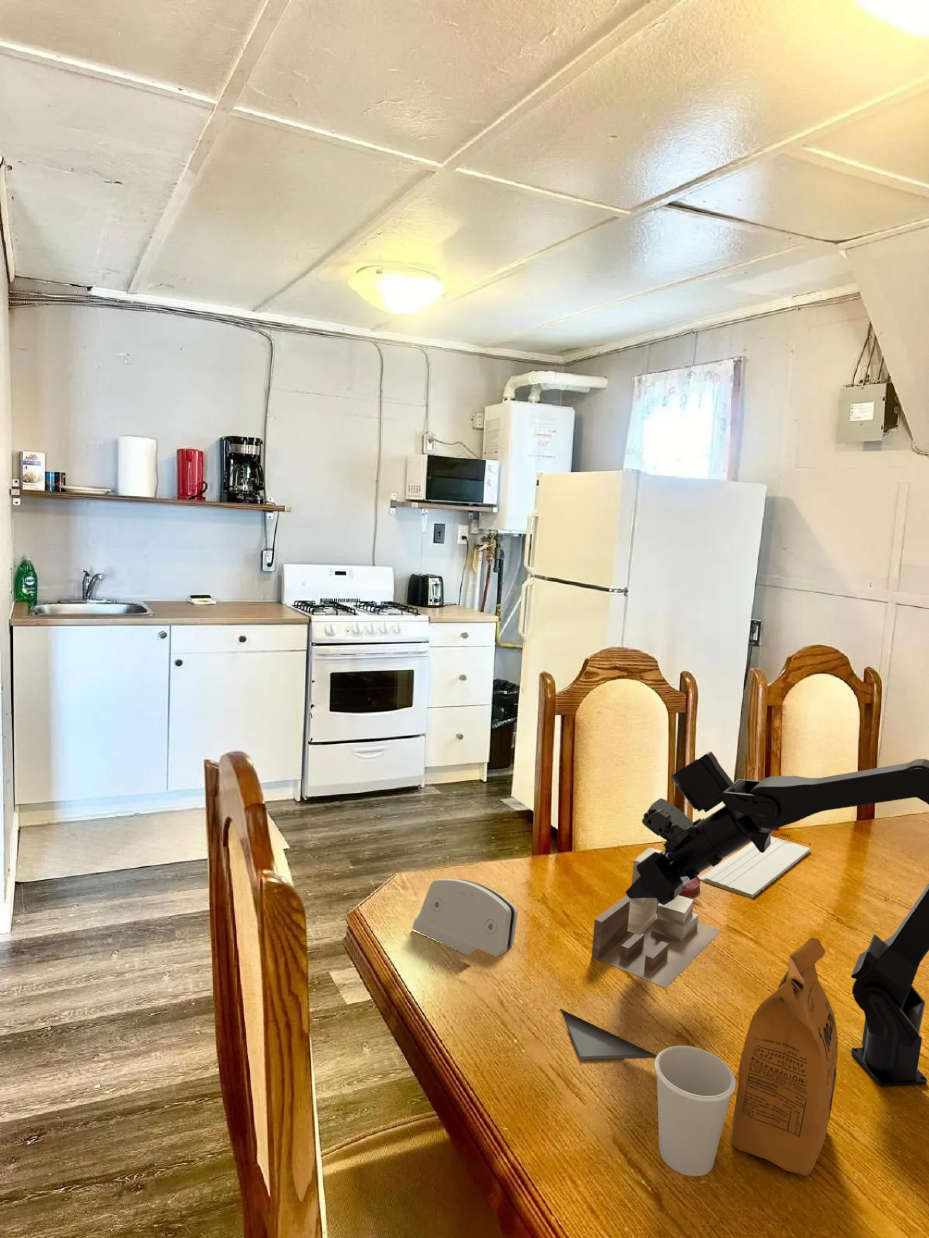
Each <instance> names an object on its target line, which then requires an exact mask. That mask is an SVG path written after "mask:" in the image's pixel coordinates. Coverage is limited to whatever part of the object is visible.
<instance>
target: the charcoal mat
mask: <svg viewBox="0 0 929 1238" xmlns="http://www.w3.org/2000/svg"><path fill="white" fill-rule="evenodd" d="M560 1012H561V1014H562V1017H563V1019H564V1022H565V1025H566V1028H567V1029H568V1033H569V1034H570V1037H571V1040H572V1043H573V1045H574V1047H575V1050H576V1053H577V1055H578V1057H579V1059H580V1061H586V1060H587V1061H588V1060H589V1061H591V1060H594V1061H595V1060H619V1059H620V1060H622V1059H646V1058H651V1059H652V1058H653V1059H654V1058H656V1057H657V1055H658V1054H655V1053H652V1052H650V1051H649V1050H647V1049H645V1048H642V1047H641V1046H638V1045H636V1044H634V1043H632V1042H630V1041H627V1040H625V1039H623V1038H622V1037H619V1036H617V1035H615V1034H613V1033H611V1032H609V1031H607V1030H605V1029H604V1028H601V1027H599V1026H597V1025H595V1024H593V1023H591V1022H590V1021H589V1022H588V1021H587V1020H584V1019H583V1018H581V1017H578V1016H576V1015H574V1014H572V1013H570V1012H568V1011H566V1010H564V1009H562V1008H560Z"/></svg>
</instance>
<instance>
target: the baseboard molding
mask: <svg viewBox="0 0 929 1238" xmlns="http://www.w3.org/2000/svg"><path fill="white" fill-rule="evenodd" d="M773 834H775V835H777V836H781V837H784V838H785V837H786V838H787V839H790V840H794V841H796V842H798V840H797V839H793V838H791V835H789V834H787V833H782V832H780V833H779V834H778V833H774V832H773ZM799 842H801V843H803V844H807V845H809V847H808V846H805V845H802V844H798V843H795V842H791V841H788V840H786V839H785V840H783V839H780V837H775V836H772V835H771V844H770V846H769V847H768V848H767V849H766V850H765V852H764V853H761V852H760V851H759V850H758V849H757V848H756V846H755V845H754V844H753V842H752V841H751V842H749V843H748V844H746V845H744V846H743V847H741V848H740V849H738V850H737V851H735V852H734V853H732V854H731V856H730V855H729V857H728V858H726V859H723V861H721V862H720V863H719V864H717V865H715V866H714V867H713V868H711V869H710V870H708V871H707V872H705V873H703V874H702V875H701V876H699V877H698V878H699V879H700V882H704V883H707V884H709V885H711V886H714V887H718V888H720V889H723V890H726V891H728V892H731V893H734V894H736V893H737V894H736V895H739V896H741V895H742V896H743V897H744V898H747V897H748V898H747V899H750V900H752V899H753V898H754V897H756V896H757V895H758V894H759V893H760V891H761V890H762V891H763V890H764V889H766V888H767V887H768V886H770V884H772V883H773V882H774V881H775V880H776V878H777V879H778V878H779V877H781V876H782V875H783V874H785V872H787V871H788V870H789V869H790V868H792V867H793V866H794V865H796V863H797V862H799V861H800V860H801V859H803V858H804V857H805V856H806V855H808V854H809V853H810V852H811V848H810V846H811V845H812V843H807V842H803V841H800V840H799ZM771 882H772V883H771ZM766 886H767V887H766ZM755 895H756V896H755ZM742 896H741V897H742Z"/></svg>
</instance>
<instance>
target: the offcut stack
mask: <svg viewBox="0 0 929 1238" xmlns="http://www.w3.org/2000/svg"><path fill="white" fill-rule="evenodd" d="M693 909H694V899H693V898H689V897H683V896H679V895H678V896H677V897H676V898H675V899H674V900H672V901H670V902H669V903H667V904H665V905H662V904H660V903H659V904H658V907H657V914H656V920H655V921H654V922H653V923H652V928H651V931H654V932H656V933H659V934H662V935H664V936H667V937H669V938H672V939H674V940H677V941H680V942H682V941H683V940H685V939H686V938H687V937H688V936H689V935H690V934H691V933H692V932H693V931H694V930H695V929H696V928H697V924H698V922H699V914H697V913H695V912H693Z"/></svg>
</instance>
